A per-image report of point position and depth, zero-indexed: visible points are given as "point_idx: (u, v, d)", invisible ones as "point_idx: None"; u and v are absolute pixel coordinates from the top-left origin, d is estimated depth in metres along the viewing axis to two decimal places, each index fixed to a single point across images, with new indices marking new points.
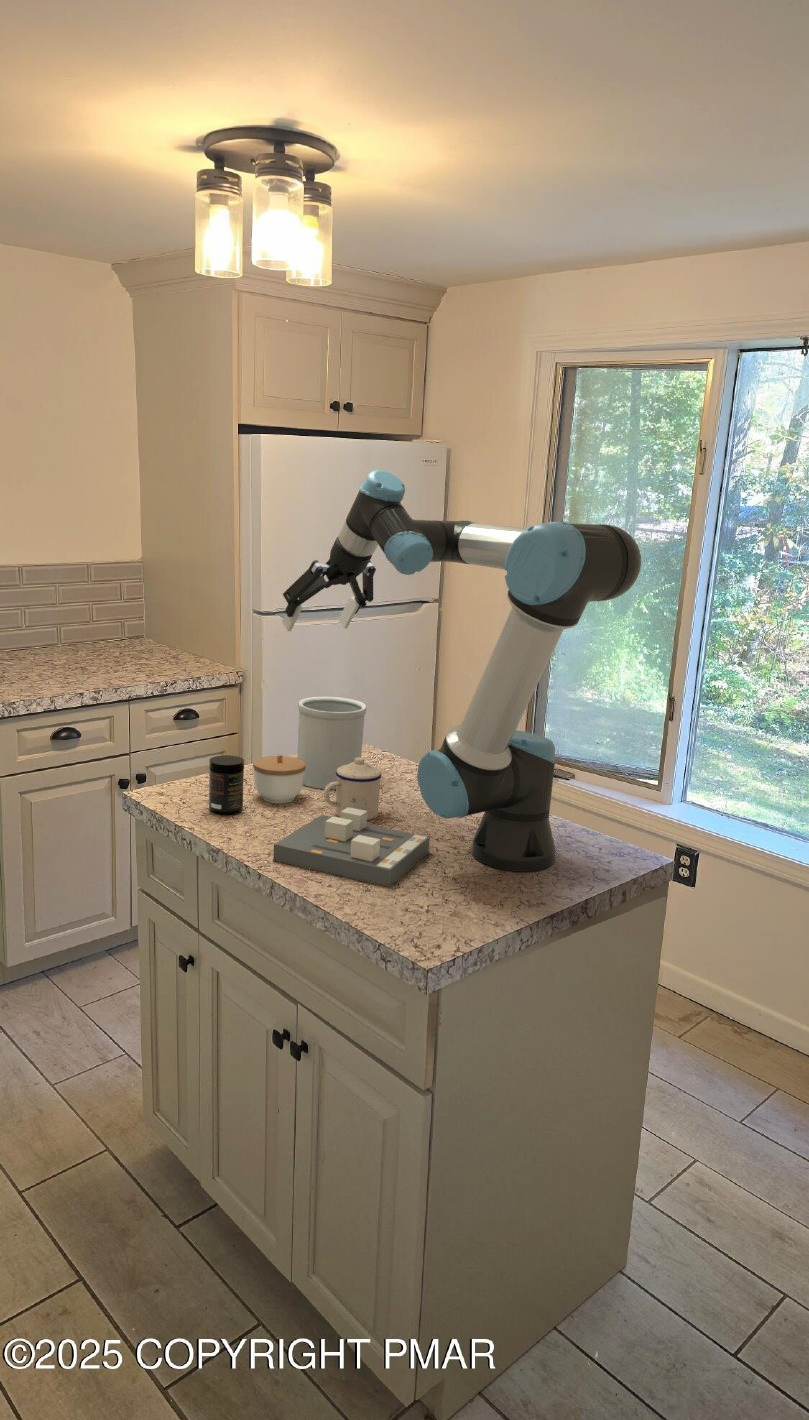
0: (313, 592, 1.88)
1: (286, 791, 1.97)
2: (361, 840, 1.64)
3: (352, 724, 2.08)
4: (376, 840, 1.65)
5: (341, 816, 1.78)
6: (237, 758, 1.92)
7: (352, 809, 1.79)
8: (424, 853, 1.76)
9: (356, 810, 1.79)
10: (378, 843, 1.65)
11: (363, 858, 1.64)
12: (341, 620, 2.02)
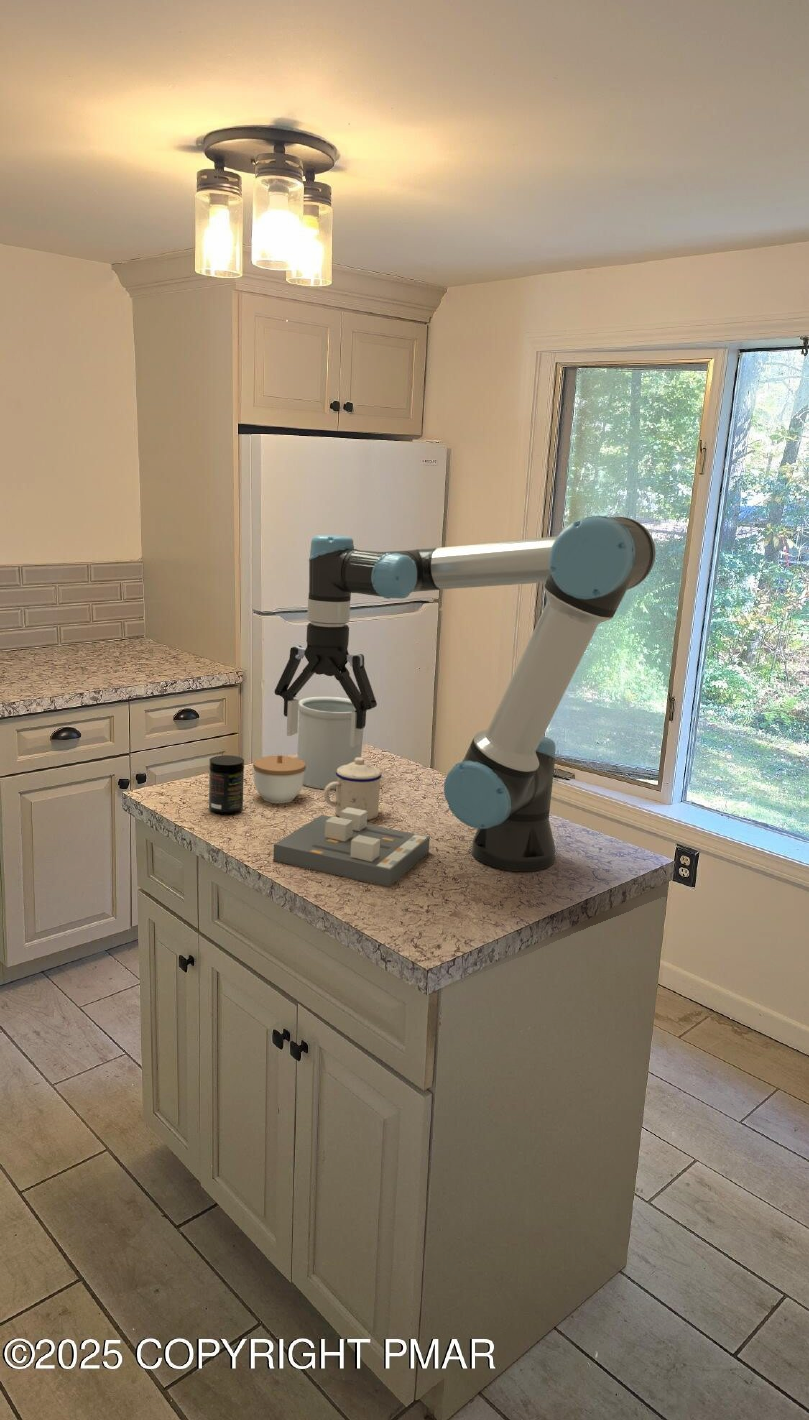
0: (297, 681, 1.77)
1: (286, 791, 1.97)
2: (361, 840, 1.64)
3: None
4: (376, 840, 1.65)
5: (341, 816, 1.78)
6: (237, 758, 1.92)
7: (352, 809, 1.79)
8: (424, 853, 1.76)
9: (356, 810, 1.79)
10: (378, 843, 1.65)
11: (363, 858, 1.64)
12: None
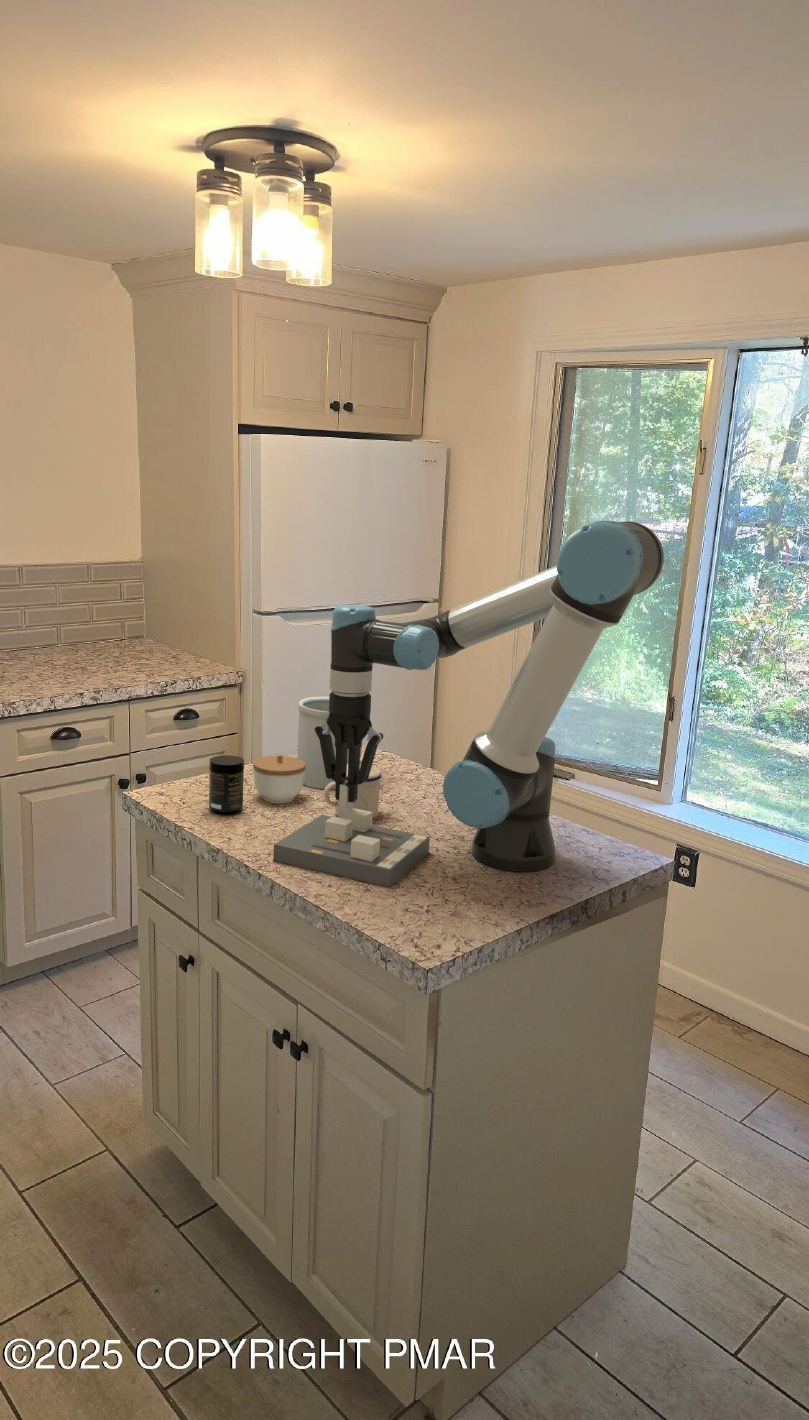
0: (337, 760, 1.77)
1: (286, 791, 1.97)
2: (361, 840, 1.64)
3: None
4: (376, 840, 1.65)
5: (346, 817, 1.78)
6: (237, 758, 1.92)
7: (358, 810, 1.79)
8: (424, 853, 1.76)
9: (361, 811, 1.79)
10: (378, 843, 1.65)
11: (363, 858, 1.64)
12: None
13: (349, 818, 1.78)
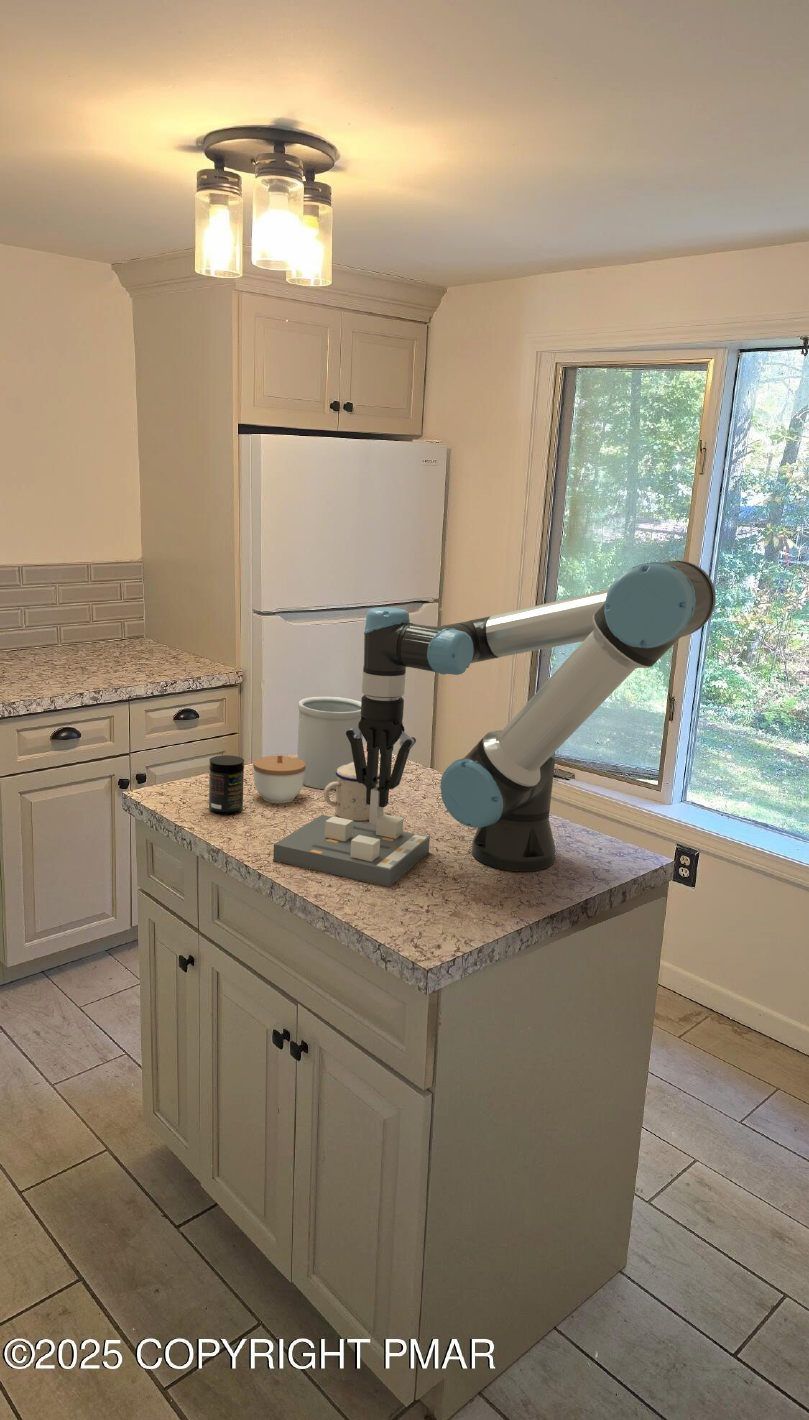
0: (368, 764, 1.74)
1: (286, 791, 1.97)
2: (361, 840, 1.64)
3: (352, 724, 2.08)
4: (376, 840, 1.65)
5: (377, 823, 1.75)
6: (237, 758, 1.92)
7: (388, 817, 1.77)
8: (424, 853, 1.76)
9: (392, 817, 1.77)
10: (378, 843, 1.65)
11: (363, 858, 1.64)
12: None
13: (380, 824, 1.75)
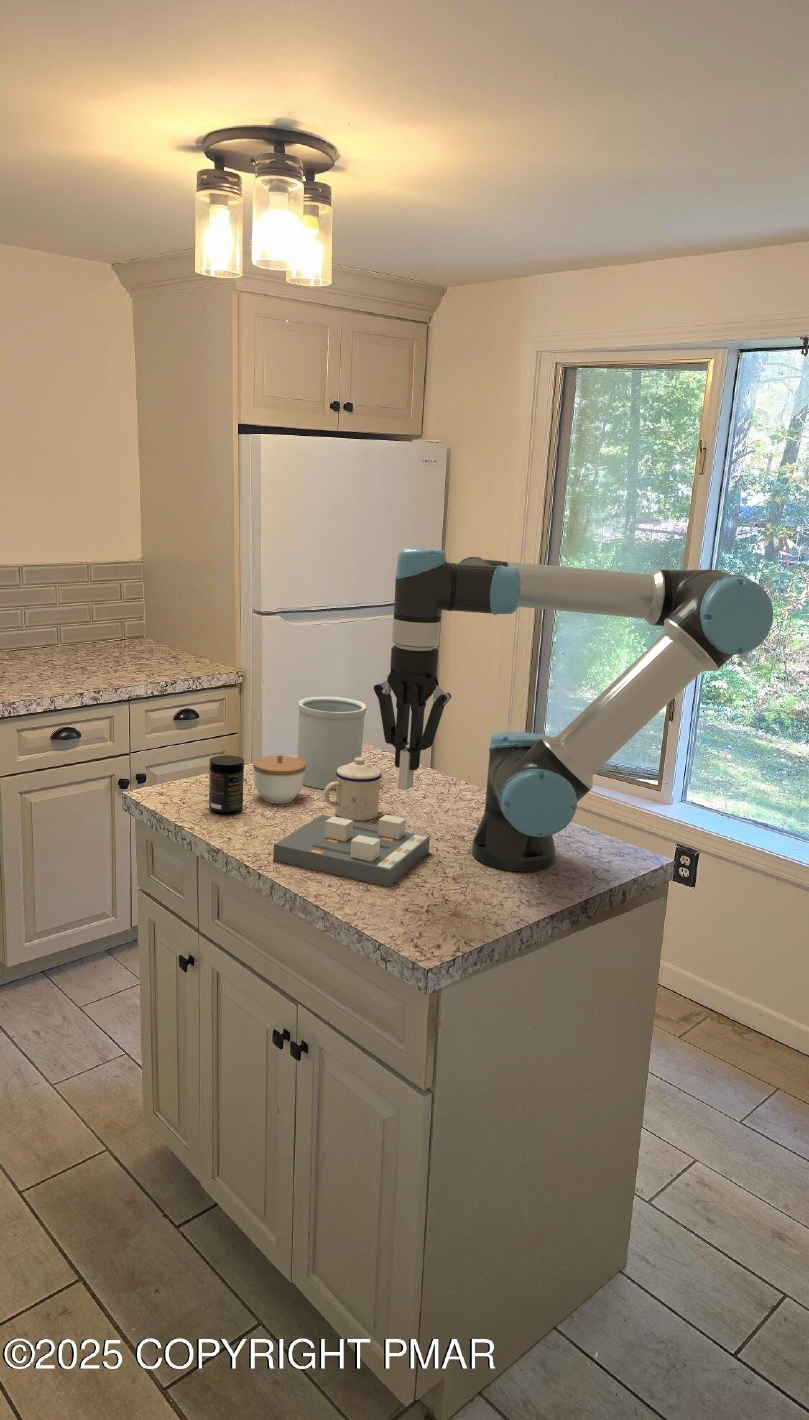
0: (398, 722, 1.57)
1: (286, 791, 1.97)
2: (361, 840, 1.64)
3: (352, 724, 2.08)
4: (376, 840, 1.65)
5: (379, 824, 1.75)
6: (237, 758, 1.92)
7: (391, 817, 1.77)
8: (424, 853, 1.76)
9: (394, 818, 1.76)
10: (378, 843, 1.65)
11: (363, 858, 1.64)
12: None
13: (382, 825, 1.75)
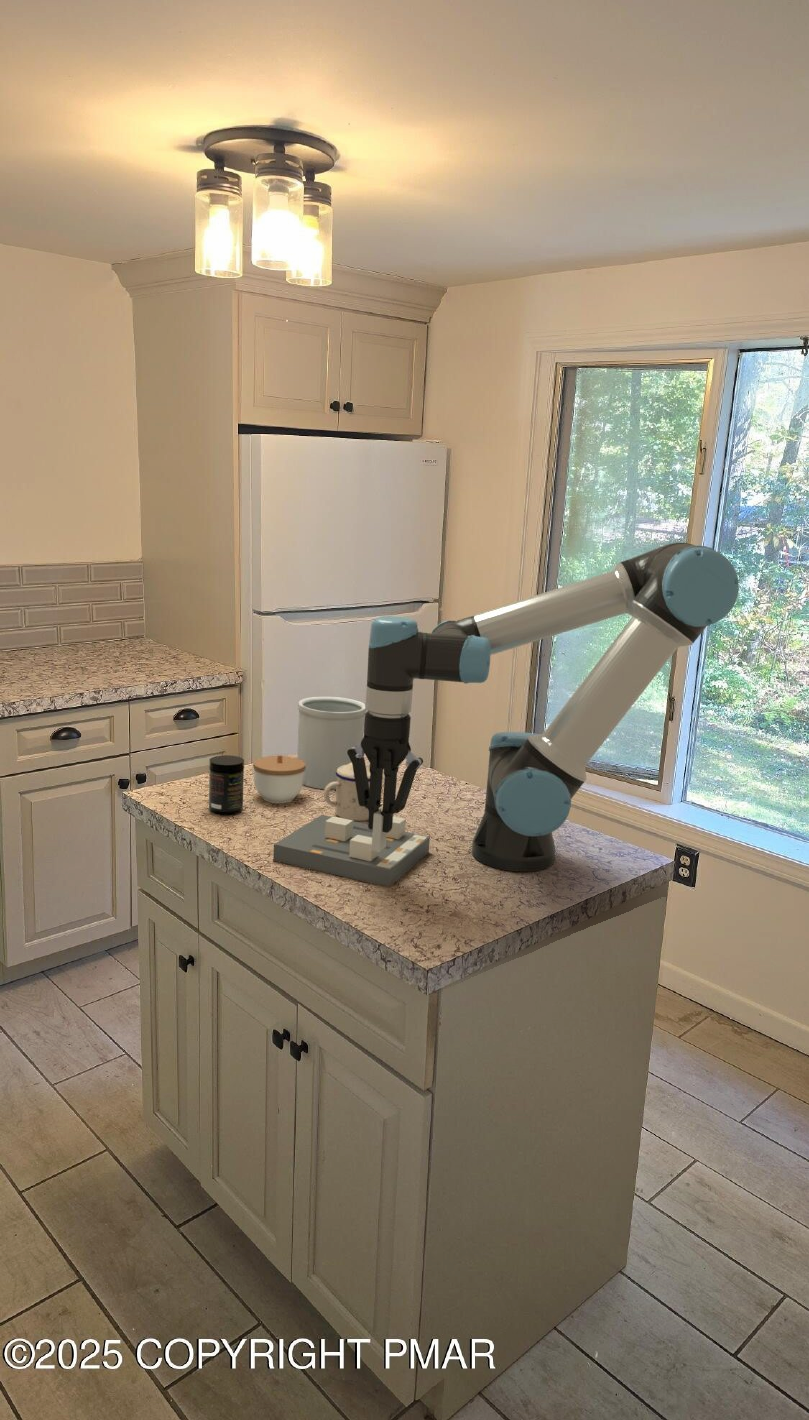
0: (371, 786, 1.61)
1: (286, 791, 1.97)
2: (360, 840, 1.65)
3: (352, 724, 2.08)
4: None
5: None
6: (237, 758, 1.92)
7: None
8: (424, 853, 1.76)
9: (394, 818, 1.76)
10: None
11: (362, 858, 1.64)
12: None
13: None
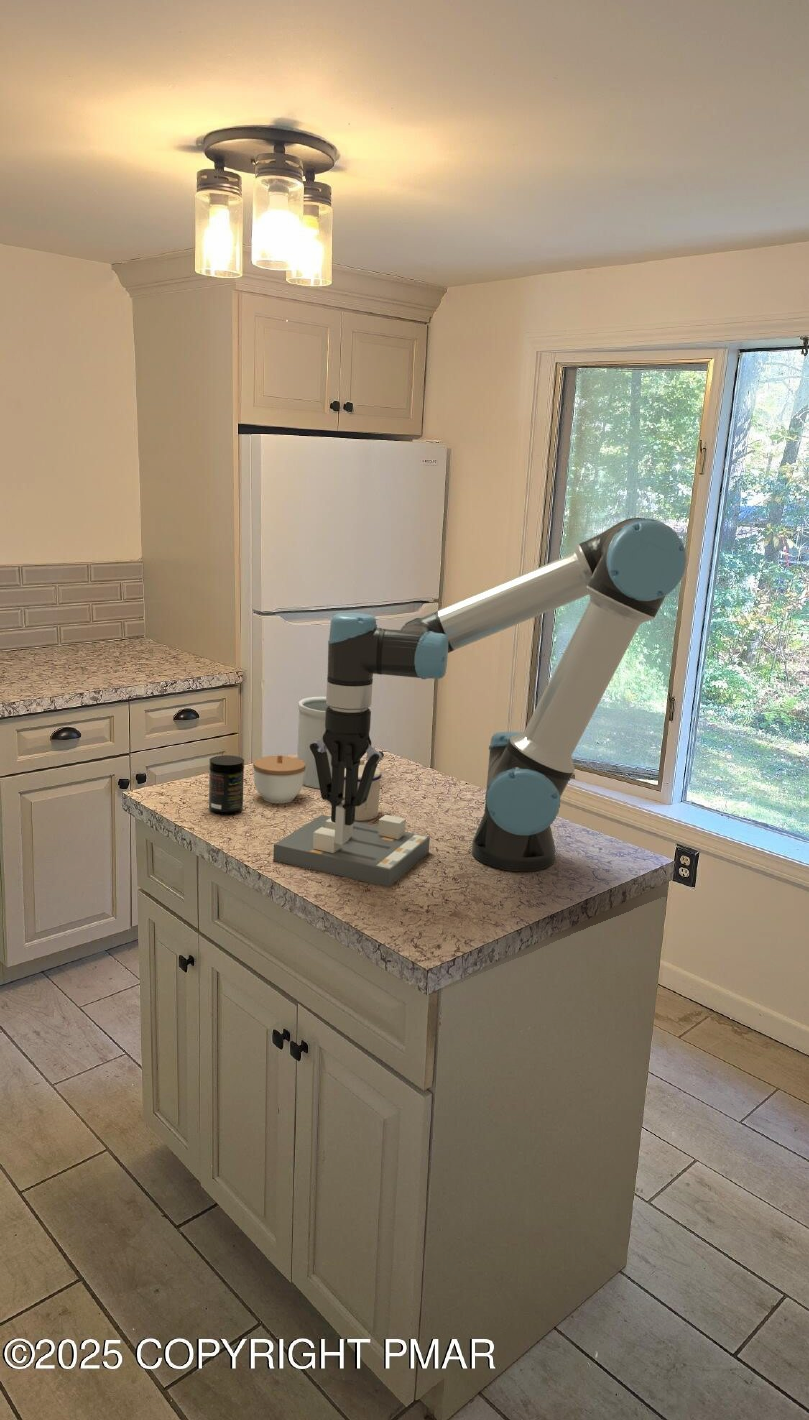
0: (333, 779, 1.64)
1: (286, 791, 1.97)
2: (323, 832, 1.67)
3: None
4: None
5: (379, 824, 1.75)
6: (237, 758, 1.92)
7: (391, 817, 1.77)
8: (424, 853, 1.76)
9: (394, 818, 1.76)
10: None
11: (325, 850, 1.67)
12: None
13: (382, 825, 1.75)
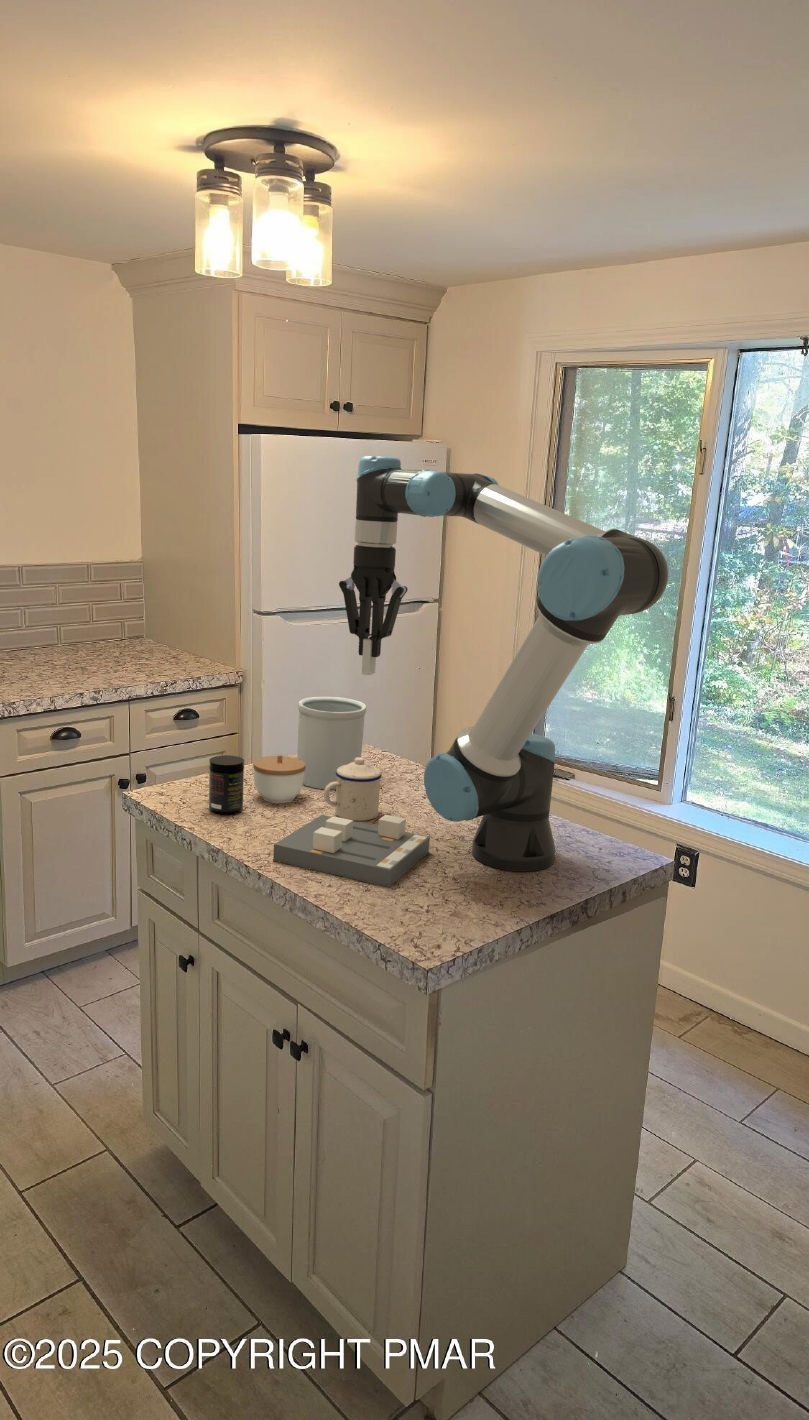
0: (361, 614, 1.78)
1: (286, 791, 1.97)
2: (323, 832, 1.67)
3: (352, 724, 2.08)
4: (338, 832, 1.68)
5: (379, 824, 1.75)
6: (237, 758, 1.92)
7: (391, 817, 1.77)
8: (424, 853, 1.76)
9: (394, 818, 1.76)
10: (340, 835, 1.68)
11: (325, 850, 1.67)
12: None
13: (382, 825, 1.75)
